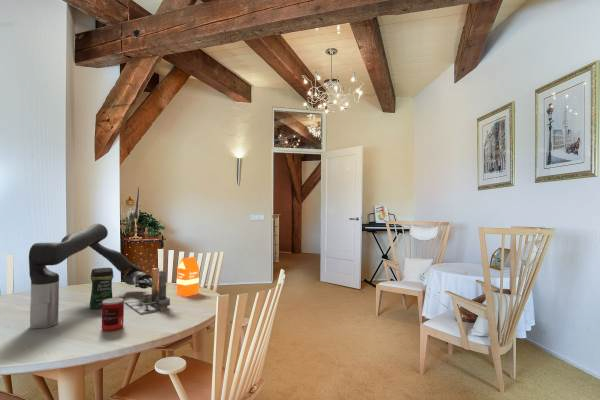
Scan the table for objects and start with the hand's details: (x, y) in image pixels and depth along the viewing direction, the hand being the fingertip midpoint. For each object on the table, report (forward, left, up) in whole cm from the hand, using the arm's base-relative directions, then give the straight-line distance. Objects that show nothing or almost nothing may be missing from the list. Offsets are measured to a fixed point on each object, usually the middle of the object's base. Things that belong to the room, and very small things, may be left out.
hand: (154, 285), depth 171 cm
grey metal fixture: (-3, +3, -9) cm, 10 cm away
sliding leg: (-3, +1, -8) cm, 8 cm away
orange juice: (+17, -15, -9) cm, 24 cm away
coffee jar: (0, +23, -9) cm, 25 cm away
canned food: (-33, +9, -9) cm, 35 cm away
